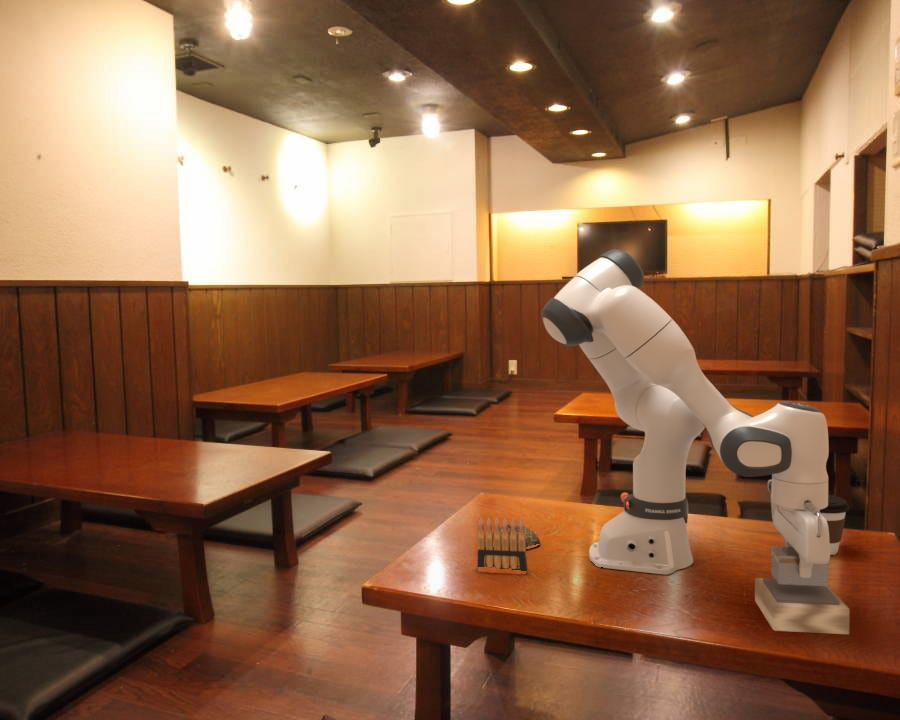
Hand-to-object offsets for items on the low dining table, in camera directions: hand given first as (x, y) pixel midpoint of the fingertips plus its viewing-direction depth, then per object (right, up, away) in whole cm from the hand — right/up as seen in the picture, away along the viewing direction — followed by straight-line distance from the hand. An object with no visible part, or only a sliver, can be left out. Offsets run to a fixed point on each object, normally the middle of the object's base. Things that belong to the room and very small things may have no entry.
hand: (798, 569), depth 121 cm
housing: (0, -2, 0) cm, 2 cm away
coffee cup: (+21, -6, +32) cm, 38 cm away
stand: (0, -9, +1) cm, 9 cm away
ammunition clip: (-51, -9, +25) cm, 58 cm away
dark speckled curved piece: (-48, -7, +43) cm, 64 cm away
